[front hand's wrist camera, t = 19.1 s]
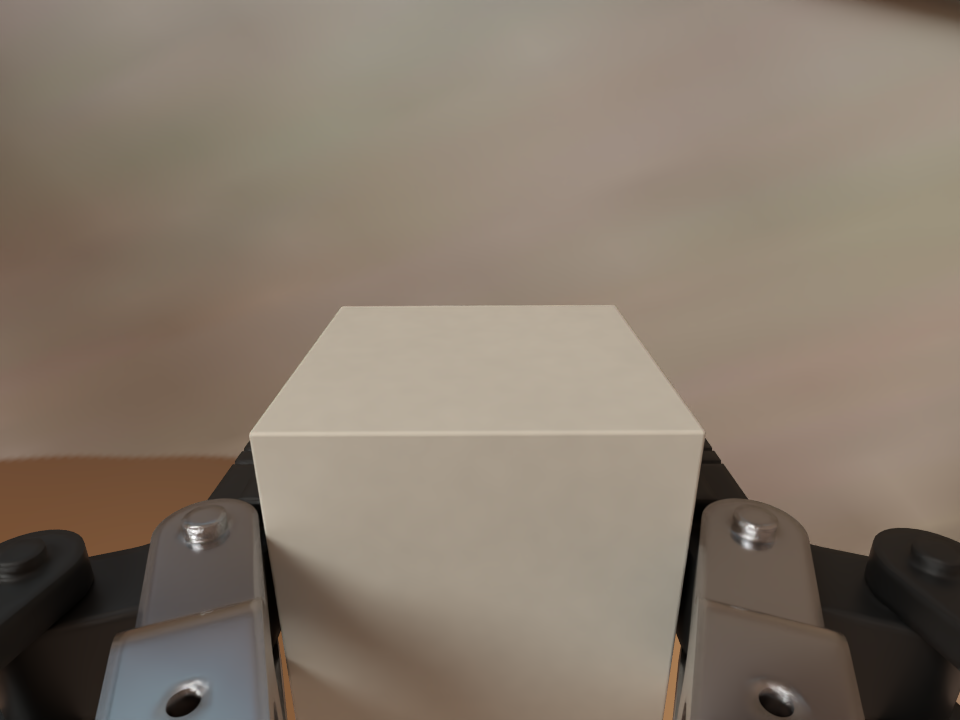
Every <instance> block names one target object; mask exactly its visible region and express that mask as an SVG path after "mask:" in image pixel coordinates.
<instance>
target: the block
mask: <svg viewBox="0 0 960 720" xmlns="http://www.w3.org/2000/svg"><path fill="white" fill-rule="evenodd" d="M705 434H706V433H705V430H704V429H703V427H702V426H701V424H700V423H699V422H698V420H697V419H696V418H695V416H694V415H693V413H692V412H691V411H690V409H689V408H688V406H687V405H686V404H685V402H684V401H683V399H682V398H681V397H680V395H679V394H678V392H677V391H676V390H675V388H674V387H673V385H672V384H671V383H670V381H669V380H668V378H667V377H666V376H665V374H664V373H663V372H662V370H661V369H660V367H659V366H658V365H657V363H656V362H655V360H654V359H653V358H652V356H651V355H650V353H649V352H648V351H647V349H646V348H645V346H644V345H643V344H642V342H641V341H640V339H639V338H638V337H637V335H636V334H635V333H634V331H633V330H632V328H631V327H630V326H629V324H628V323H627V321H626V320H625V319H624V317H623V316H622V314H621V313H620V312H619V310H618V309H617V307H616V306H614V305H531V306H343V307H341V308H340V310H339V311H338V312H337V314H336V315H335V316H334V318H333V319H332V321H331V322H330V323H329V325H328V326H327V327H326V329H325V330H324V332H323V333H322V334H321V336H320V337H319V338H318V340H317V341H316V343H315V344H314V345H313V347H312V348H311V349H310V351H309V352H308V354H307V355H306V356H305V358H304V359H303V360H302V362H301V363H300V365H299V366H298V367H297V369H296V370H295V371H294V373H293V374H292V376H291V377H290V378H289V380H288V381H287V382H286V384H285V385H284V387H283V388H282V389H281V391H280V392H279V393H278V395H277V396H276V397H275V399H274V400H273V402H272V403H271V404H270V406H269V407H268V408H267V410H266V411H265V413H264V414H263V415H262V417H261V418H260V419H259V421H258V422H257V424H256V425H255V426H254V428H253V429H252V430H251V432H250V435H249V437H250V443H251V449H252V455H253V461H254V467H255V473H256V480H257V486H258V492H259V498H260V504H261V510H262V516H263V522H264V528H265V534H266V541H267V547H268V553H269V559H270V565H271V571H272V577H273V583H274V589H275V595H276V602H277V608H278V614H279V620H280V626H281V632H282V638H283V644H284V650H285V657H286V663H287V669H288V675H289V681H290V687H291V693H292V699H293V705H294V711H295V718H296V720H663V715H664V709H665V702H666V695H667V688H668V682H669V675H670V668H671V662H672V655H673V648H674V641H675V635H676V628H677V621H678V615H679V608H680V601H681V595H682V588H683V581H684V575H685V568H686V561H687V554H688V548H689V541H690V534H691V528H692V521H693V514H694V508H695V501H696V494H697V487H698V481H699V474H700V467H701V461H702V454H703V447H704V441H705Z"/></svg>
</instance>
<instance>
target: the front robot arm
mask: <svg viewBox="0 0 960 720" xmlns="http://www.w3.org/2000/svg"><path fill="white" fill-rule="evenodd" d="M280 631H281V626H280V620H279V614H278V608H277V602H276V595H275V589H274V583H273V577H272V571H271V565H270V559H269V553H268V547H267V541H266V534H265V528H264V522H263V516H262V510H261V504H260V498H259V492H258V486H257V480H256V473H255V467H254V461H253V455H252V449H251V443H250V441H249V442H248V444H247V445H246V447H245V448H244V451H242V452H241V454H240V455H239V456H238V458H237V459H236V461H235V464H233V465H232V466H231V468H230V469H229V470H228V472H227V473H226V475H225V476H224V478H223V479H222V480H221V482H220V483H219V485H218V486H217V487H216V489H215V490H214V492H213V493H212V494H211V496H210V497H209V499H208V500H206V501H202V502H198V503H195V504H192V505H189V506H187V507H184V508H182V509H180V510H178V511H176V512H174V513H173V514H171V515H170V516H168V517H167V518H166V519H164V520H163V521H162V522H161V523H160V524H159V525H158V526H157V527H156V529H155V531H154V532H153V534H152V537H151V542H150V544H147V545H144V546H140V547H136V548H132V549H126V550H122V551H117V552H112V553H106V554H101V555H96V556H91V557H88V554H87V550H86V547H85V543H84V541H83V539H82V537H81V536H79V535H78V534H76V533H74V532H71V531H67V530H45V531H38V532H33V533H29V534H25V535H21V536H18V537H15V538H13V539H10V540H7V541H5V542H2V543H0V720H287V712H286V702H285V692H284V682H283V672H282V662H281V655H280V649H279V643H278V636H279V634H280ZM676 634H677V637H678V639H679V642H680V644H681V649H680V655H679V662H678V672H677V682H676V692H675V702H674V712H673V720H960V705H959V704H958V703H957V702H956V700H957V697H958V695H959V692H960V543H959V542H957V541H954V540H952V539H950V538H947V537H944V536H941V535H939V534H935V533H932V532H928V531H923V530H918V529H910V528H893V529H888V530H884V531H882V532H880V533H879V534H877V535H876V536H875V538H874V540H873V544H872V547H871V551H870V554H869V556H864V555H859V554H854V553H849V552H844V551H839V550H834V549H829V548H824V547H820V546H815V545H811V544H810V542H809V537H808V534H807V532H806V531H805V529H804V527H803V526H802V525H801V524H800V523H799V522H798V521H797V520H796V519H794V518H793V517H792V516H790V515H789V514H787V513H786V512H784V511H782V510H780V509H778V508H776V507H773V506H771V505H768V504H765V503H762V502H758V501H754V500H748V498H747V497H746V496H745V494H744V493H743V491H742V490H741V488H740V487H739V486H738V484H737V483H736V481H735V480H734V478H733V477H732V476H731V474H730V473H729V471H728V470H727V468H726V467H725V466H724V464H721V460H720V458H719V457H718V456H717V454H716V453H715V451H712V447H711V446H710V444H709V443H708V441H707V440H706V438H705V441H704V447H703V454H702V461H701V467H700V474H699V481H698V487H697V494H696V501H695V508H694V514H693V521H692V528H691V534H690V541H689V548H688V554H687V561H686V568H685V575H684V581H683V588H682V595H681V601H680V608H679V615H678V621H677V628H676Z"/></svg>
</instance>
